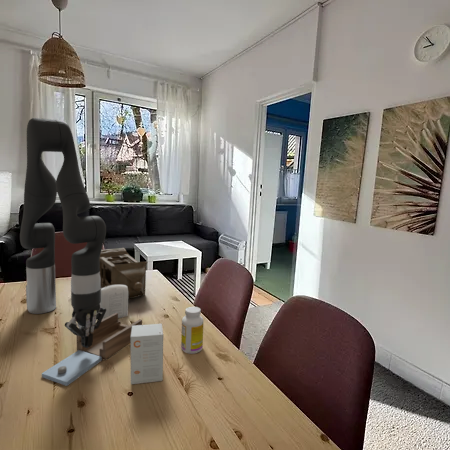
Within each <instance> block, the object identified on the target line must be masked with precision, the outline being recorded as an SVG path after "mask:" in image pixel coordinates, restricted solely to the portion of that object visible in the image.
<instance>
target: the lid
mask: <svg viewBox="0 0 450 450" xmlns="http://www.w3.org/2000/svg"><path fill="white" fill-rule="evenodd" d="M102 360H103V359H102V357H100V356H97V355H94V354H90V353H87V352H84V351H81V350H76V351H75V352H73V353H72V354H70V355H69V356H67V357H66V358H64V359H62V360H60V361H59V362H58V363H56V364H54V365H53V366H51V367H50V368H48V369H46V370H45V371H43V372H42V373H41V378H43V379H46V380H49V381H52V382H54V383H58V384H61V385H62V386H66V387H68V386H69V385H70V384H71V383H73V382H74V381H76V380H78V378H80V377H81V376H82V375H84V374H85V373H86V372H88V371H89V370H91V369H92V368H94V367H95V366H96V365H97V364H99V363H100V362H102Z"/></svg>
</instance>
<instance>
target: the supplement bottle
mask: <svg viewBox="0 0 450 450" xmlns="http://www.w3.org/2000/svg"><path fill="white" fill-rule="evenodd" d="M201 312H202V311H201V308H200V307H198V306H189V307H186V308H185V312H184V313H185V315H184V316H183V317H182V319H181V337H180V338H181V340H180V346H181V350H182V351H183V352H184V353H186V354H192V355H193V354H198V353H200V352H201V351H202V350H203V347H204V346H203V345H204V318H203V316H202V315H201Z"/></svg>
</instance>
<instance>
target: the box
mask: <svg viewBox="0 0 450 450" xmlns="http://www.w3.org/2000/svg"><path fill="white" fill-rule="evenodd" d="M134 325H143V320H142V319H138V320H136V321H134V322H133V323H131V324H130V325H128V324H125V323H122V321H121V320H119V318H118V313H114V314H112V315H110V316H108V317H106V318H104V319H103V320H102V321H101V323H100V325H99V327H98V329H95V330H94V332H93V342H92V346H90V347H88V348H85V347H83V346H82V345H81V337H80V336H77V335H76V351H78V350H81V351H84V352H87V353H90V354H94V355H97V356H100V357H102V360H103V361H107V360H108V359H110V358H112V357H113V356H114V355H115V354H117V353H119V352H120V351H122V350H123V349H124V348H126V347H128V346H129V345H131V338H130V337H131V330H132V326H134Z"/></svg>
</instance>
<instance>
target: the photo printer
mask: <svg viewBox="0 0 450 450" xmlns="http://www.w3.org/2000/svg"><path fill="white" fill-rule="evenodd" d="M100 307H101V308H105V309H106V312H105V315H104V317H103V319H104V318H106V317H108V316H110V315H112V314H114V313H118V319H121V318H125V317H128V315H129V299H128V287H127V286H126V285H110V286H107V287H104V288H101V302H100ZM103 319H102V320H103Z"/></svg>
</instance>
